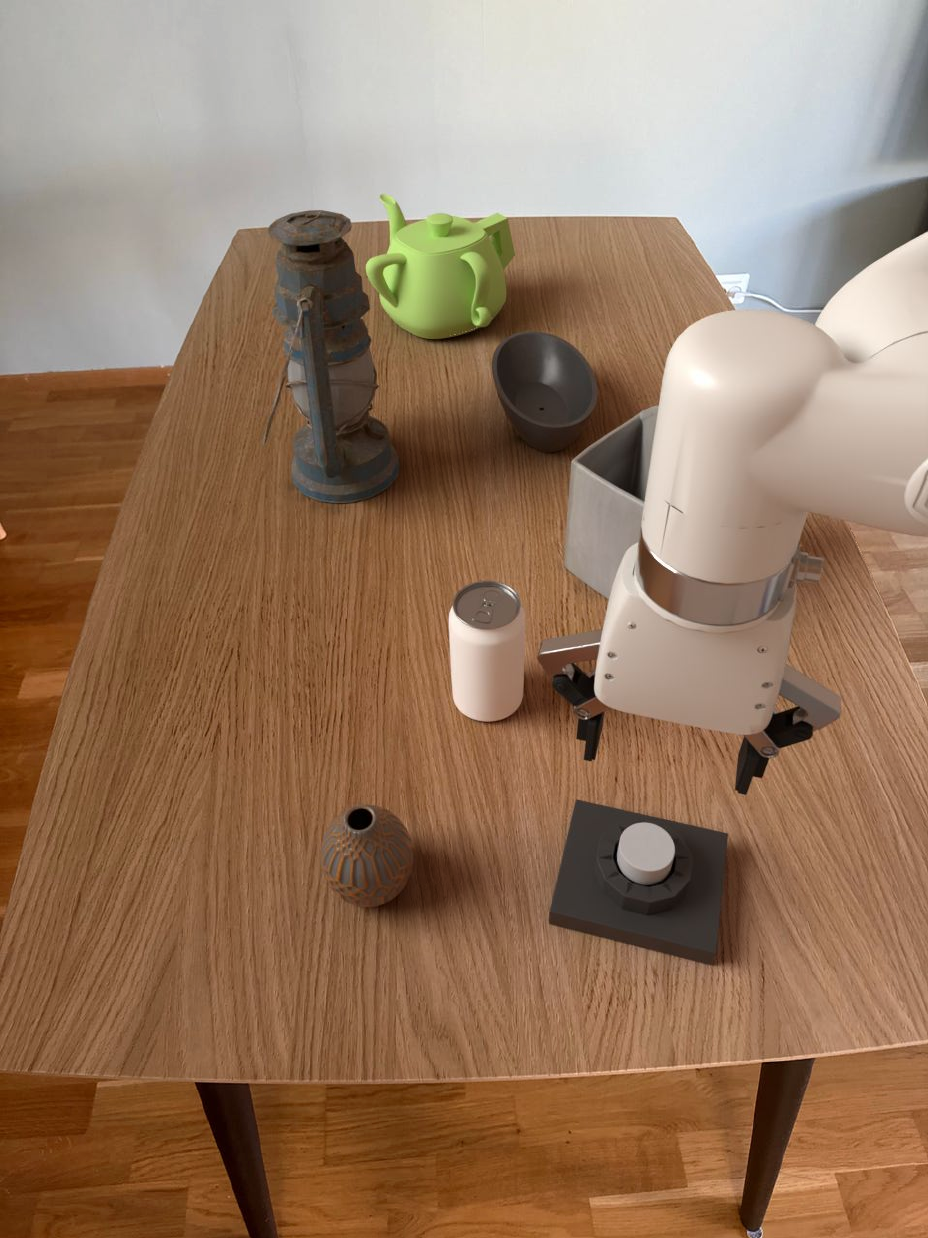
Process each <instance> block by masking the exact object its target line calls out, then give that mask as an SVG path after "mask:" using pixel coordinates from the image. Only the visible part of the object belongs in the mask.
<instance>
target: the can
mask: <svg viewBox="0 0 928 1238" xmlns="http://www.w3.org/2000/svg"><path fill="white" fill-rule="evenodd" d="M448 641H449V643H448V644H449V659H450V675H451V676H450V677H451V691H452V692H451V693H452V700H453V702H454V705H455V707H456V708H457V709H458V711H459V712H460V713H461V714H463V715H464V716H466V717H468V718H469V719H472V720H474V721H478V722H484V723H485V722H487V723H490V722H491V723H493V722H497V721H501V720H503V719H506V718H508V717H510V716H511V715H513V714H514V713H515V712H516V711H517V710H518V709H519V708H520V706H521V704H522V701H523V698H524V687H525V686H524V683H525V655H526V613H525V610H524V607H523V605H522V602H521V598H520V596H519V594H518V593H517V591H516V590H515V589H513V588H512V587H511V586H509V585H507V584H505V583H503V582H500V581H495V580H479V581H474V582H471V583H469V584H466V585H465V586H463V587H462V588H460V589H459V590H458V592H456V593H455V595H454V598H453V600H452V606H451V608H450V610H449V613H448Z"/></svg>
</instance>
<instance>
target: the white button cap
mask: <svg viewBox="0 0 928 1238" xmlns="http://www.w3.org/2000/svg"><path fill="white" fill-rule="evenodd" d="M674 855H675V845H674V842H673V840H672V838H671V836H670V835H669V834H668V833H667V832H666V831H665V830H664V829H663V828H661V827H659V826H657V825H655V824H652V823H636V824H633V825H631V826H629V827H628V828H627V829H625V831H624V832H623V833H622V835H621V837H620V841H619V847H618V852H617V863H618V866H619V868H620V870H621V872H622V873H623V874H624V875H625V876H626V877H627V878H628V879H630V880H631V881H633V882H635V883H638V884H642V885H652V884H656V883H659V882H661V881H662V880H664V879H665V878H666V877H667V876H668V874H669V872H670V870H671V866H672V863H673V859H674Z"/></svg>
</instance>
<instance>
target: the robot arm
mask: <svg viewBox="0 0 928 1238" xmlns="http://www.w3.org/2000/svg"><path fill="white" fill-rule="evenodd" d="M814 323H815V324H814ZM814 323H812V322H811V321H807V320H805V319H804V318H800V317H798V316H794V315H791V314H788V313H783V312H780V311H772V310H766V309H750V308H749V309H733V310H726V311H721V312H717V313H714V314H711V315H707V316H705V317H703V318H701V319H699V320H697V321H695V322H693V323H692V324H690V325H689V326H688V327H687V328H685V330H684V331H683V332H682V333H681V334H679V335H678V337H677V338H676V339H675V341H674V343H673V344H672V346H671V348H670V350H669V352H668V354H667V357H666V359H665V365H664V370H663V374H662V382H661V387H660V395H659V400H658V402H659V403H658V405H659V407H658V414H657V421H656V428H655V434H654V441H653V448H652V455H651V461H650V468H649V475H648V482H647V488H646V495H645V502H644V509H643V516H642V523H641V529H640V535H639V542H638V543H636V544H634V545H632V546H631V547H630V548H629V549H628V550H627V551H626V553H625V555H624V557H623V559H622V561H621V564H620V566H619V568H618V571H617V574H616V577H615V580H614V583H613V586H612V590H611V594H610V598H609V600H608V602H607V606H606V607H607V608H606V613H605V617H604V622H603V627H602V628H601V629H595V630H589V631H585V632H580V633H573V634H568V635H562V636H556V637H550V638H546V639H543V640H542V641H541V644H540V647H539V650H538V653H537V656H536V658H537V661H538V663H539V665H540V666H541V668H542V669H543V671H544V672H545V674H546V675H547V677H549V678H550V679H551V681H552V682H551V686H552V688H553V689H554V690H555V691H556V692H557V693H558V694H559V695H560V696H561V697H563V698H564V699H565V700H566V701H567V702H568V703H569V704H570V705H572V707H573V710H572V713H573V715H574V717H575V718H577V727H576V737H575V739H576V740H579V741H584V742H585V745H584V753H583V760H584V761H588V762H592V761H596V758H597V755H598V754H597V753H598V749H599V744H600V740H601V735H602V731H603V727H604V719H605V713H606V711H608V710H610V709H613V710H615V711H618V712H622V713H627V714H630V715H635V716H640V717H644V718H649V719H654V720H658V721H664V722H668V723H673V724H678V725H683V726H688V727H693V728H699V729H702V730H708V731H713V732H718V733H724V734H730V735H737V736H738V735H739V736H743V738H742V741H741V744H740V748H739V751H738V754H737V762H736V771H735V773H736V774H735V782H734V783H735V784H734V791H735V792H737V794H739V795H745V796H747V795H748V792H749V789H750V787H751V783H752V782H753V778H758V779H763V777H764V775H765V771H766V769H767V766H768V763H769V761H770V759H774V758H776V757H778V756H779V754H780V749H782V748H787V747H789V746H793V745H796V744H799V743H803V742H806V741H809V740H810V739H812V738H813V736H814V733H815V732H816V731H817V730H818V731H821V730H822V729H824V728H826V727H827V726H829V725H831V724H832V723H834V722H836V721H837V720H839V719H840V718H841V714H842V713H841V708H842V707H841V706H842V702H841V696H840V695H839V694H837V693H836V692H834V691H833V690H831V689H829V688H827V687H826V686H824V685H823V684H821V683H819V682H817V681H816V680H814V679H812V678H811V677H809V676H807V675H806V674H804V673H802V672H801V671H799V670H798V669H796V668H794V667H792V666H791V665H789V664H787V661H788V656H789V651H790V646H791V645H790V644H791V639H792V637H791V636H792V631H793V623H794V617H795V614H796V607H797V584H798V585H799V584H800V585H802V584H803V583H809V584H813V585H818V584H819V583H820V580H821V577H822V573H823V569H824V557H821V556H815V555H810V554H809V552H807V551H802V545H801V544H799V543H800V540H801V537H802V533H803V530H804V528H805V523H806V520H807V517H808V514H809V513H810V514H815V515H820V516H825V517H828V518H833V519H837V520H842V521H845V522H849V523H854V524H857V525H861V526H866V527H869V528H874V529H877V530H882V531H886V532H891V533H896V534H900V535H901V534H903V535H908V536H914V537H915V536H916V537H923V538H924V537H925V538H928V231H926V232H924V233H922V234H920V235H919V236H916V237H914V238H913V239H911V240H909V241H908V242H905V243H904V244H902V245H900V246H899V247H896V248H895V249H893V250H891V251H890V252H889V253H887V254H886V255H884V256H882V257H880V258H879V259H877V260H876V261H874V262H872V263H871V264H870V265H868V266H866V267H865V268H864V269H863V270H861V271H859V272H858V273H857V274H856V275H855V276H854V277H852V278H851V279H850V280H849V281H848V282H846V283H845V284H844V285H843V286H842V287H841V288H840V289H839V290H838V291H837V292H836V293H835V294H834V295H833V296H831V299H829V301H827V303H826V305H825V306H824V307H823V309H822V310H821V312H820V313H819V315H818V317H817V319H816V321H815V322H814ZM590 661H596V664H595V668H594V669H593V670H591V671H589V672H587V673H585V672H584V671H583V669H581V668H580V667H579V666H577V664H579V663H584V662H590ZM779 697H782V698H784V699H785V700H787V701H788V702H790V703H791V704H794V705H795V707H791V708H788V709H785V710H783V711H780V712H779V711H778V709H777V708H776V705H777V702H778V698H779Z"/></svg>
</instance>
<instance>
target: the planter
mask: <svg viewBox="0 0 928 1238" xmlns="http://www.w3.org/2000/svg"><path fill="white" fill-rule="evenodd" d="M658 407H659V404H657V405H654V406H651V407H649V408H646V409H642V410H641V411H640V412H639V413H637V414H635V415H634V416H633V417H632V418H630V419H628V420H627V421H626V422H624V423H623V424H621V425H619V426H618V427H616V428H615V429H613V430H611V431H609V432H608V433H607V434H605V435H603V436H602V437H601V438H599V439H598V440H596V441H595V442H594V443H592V444H590V445H589V446H588V447H586V448H585V449H584V450H583V451H582V452H580V453H579V454H577V456H575V457H574V458H573V459H572V460H571V462H570V477H569V488H568V501H567V514H566V529H565V542H564V557H563V567H564V568H565V569H566V570H568V571H569V572H570V573H571V574H572V575H573V576H575V577H576V578H577V579H578V580H580V581H581V582H582V583H584V584H586V585H587V586H588V587H590V588H591V589H592V590H594V591H595V592H597V593H598V594H600V595H601V596H602V597H604V598H605V599H607V600H608V601H609V598H610V594H611V590H612V586H613V583H614V580H615V577H616V574H617V571H618V568H619V566H620V564H621V561H622V559H623V557H624V555H625V553H626V551H627V550H628V549H629V548H630V547H631V546H632V545H634V544H636V543H638V542H639V535H640V529H641V523H642V516H643V509H644V502H645V495H646V488H647V482H648V475H649V468H650V461H651V455H652V448H653V441H654V434H655V428H656V421H657V414H658Z"/></svg>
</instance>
